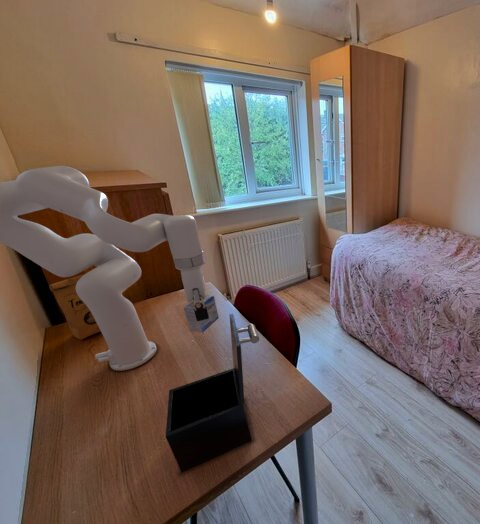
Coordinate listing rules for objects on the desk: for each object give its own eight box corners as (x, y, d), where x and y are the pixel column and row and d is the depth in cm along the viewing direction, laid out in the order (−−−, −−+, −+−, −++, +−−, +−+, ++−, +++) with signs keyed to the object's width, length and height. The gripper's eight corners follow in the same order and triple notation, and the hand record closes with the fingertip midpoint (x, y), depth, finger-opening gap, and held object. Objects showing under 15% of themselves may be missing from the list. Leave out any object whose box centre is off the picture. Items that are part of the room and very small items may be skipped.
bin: (181, 472, 61) (165, 436, 56) (182, 424, 71) (169, 390, 66) (252, 441, 67) (242, 405, 62) (243, 400, 77) (235, 367, 72)
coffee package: (120, 326, 108) (98, 274, 99) (78, 344, 99) (49, 289, 90) (112, 317, 114) (90, 267, 105) (72, 333, 105) (44, 280, 96)
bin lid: (236, 346, 56) (262, 340, 58) (229, 313, 66) (251, 310, 68) (240, 405, 61) (264, 397, 64) (233, 366, 72) (254, 361, 74)
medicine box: (202, 333, 85) (196, 309, 81) (189, 331, 86) (183, 307, 82) (219, 318, 92) (214, 295, 88) (207, 316, 93) (202, 293, 89)
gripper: (175, 251, 85) (188, 300, 93) (172, 275, 71) (188, 331, 79) (203, 247, 88) (213, 295, 96) (205, 269, 74) (218, 323, 82)
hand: (202, 311), depth 87 cm, fingers closed on medicine box, 8 cm apart
